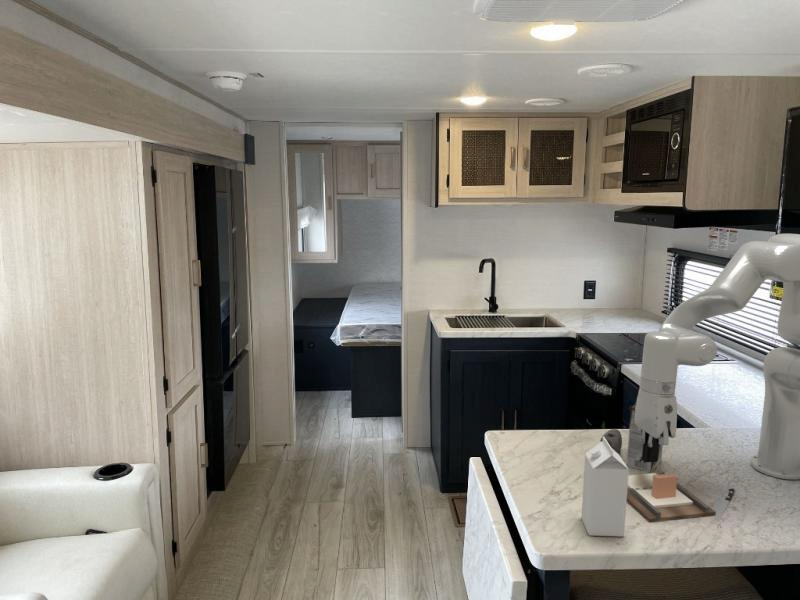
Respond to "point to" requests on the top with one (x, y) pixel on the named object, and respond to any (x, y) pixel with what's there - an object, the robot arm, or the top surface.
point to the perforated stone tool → (613, 439)
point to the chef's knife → (722, 504)
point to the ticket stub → (665, 492)
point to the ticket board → (665, 512)
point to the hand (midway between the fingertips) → (649, 460)
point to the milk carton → (604, 491)
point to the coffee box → (638, 447)
